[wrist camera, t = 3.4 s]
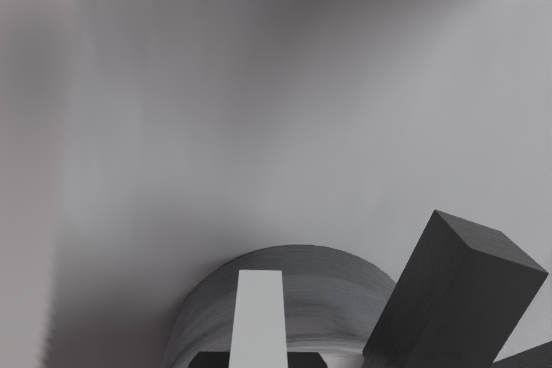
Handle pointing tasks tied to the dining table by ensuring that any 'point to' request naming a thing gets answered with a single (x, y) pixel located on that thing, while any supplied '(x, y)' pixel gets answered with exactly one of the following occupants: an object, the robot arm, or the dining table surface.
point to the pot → (300, 304)
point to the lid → (446, 302)
